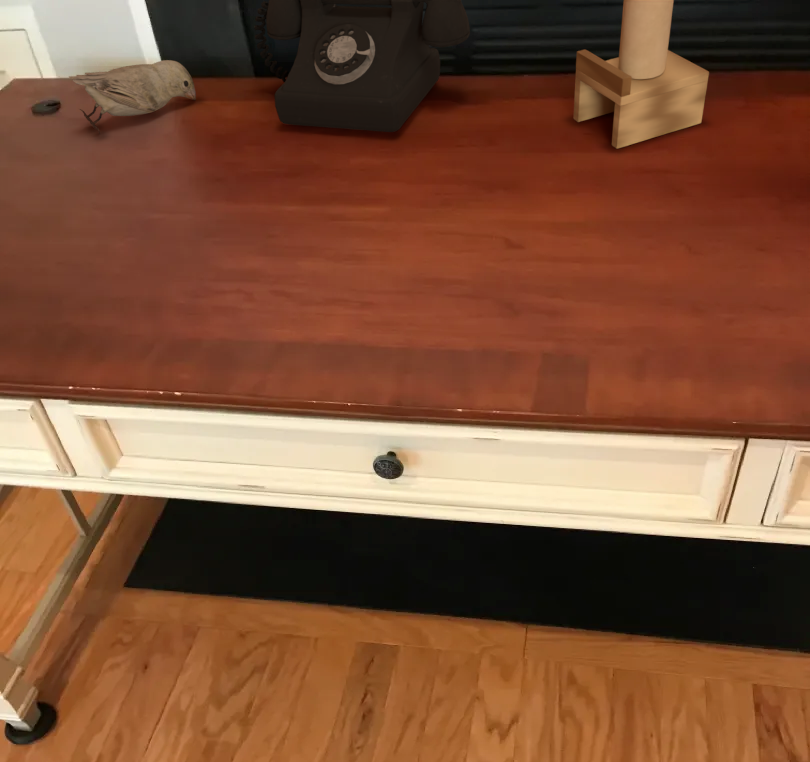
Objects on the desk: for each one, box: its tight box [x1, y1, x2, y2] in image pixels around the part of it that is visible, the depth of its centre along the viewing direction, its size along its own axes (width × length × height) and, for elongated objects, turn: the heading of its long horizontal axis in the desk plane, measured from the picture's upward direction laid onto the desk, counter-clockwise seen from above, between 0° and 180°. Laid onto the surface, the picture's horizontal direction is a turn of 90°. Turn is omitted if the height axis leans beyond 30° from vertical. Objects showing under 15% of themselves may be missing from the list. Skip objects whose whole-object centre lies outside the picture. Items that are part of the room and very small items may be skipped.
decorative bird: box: [68, 59, 197, 135], centre depth 123 cm, size 5×16×7 cm, turn 119°
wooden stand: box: [572, 49, 710, 149], centre depth 109 cm, size 12×10×8 cm
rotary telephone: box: [253, 0, 471, 133], centre depth 116 cm, size 30×17×15 cm, turn 70°
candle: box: [618, 0, 675, 79], centre depth 103 cm, size 6×6×10 cm
